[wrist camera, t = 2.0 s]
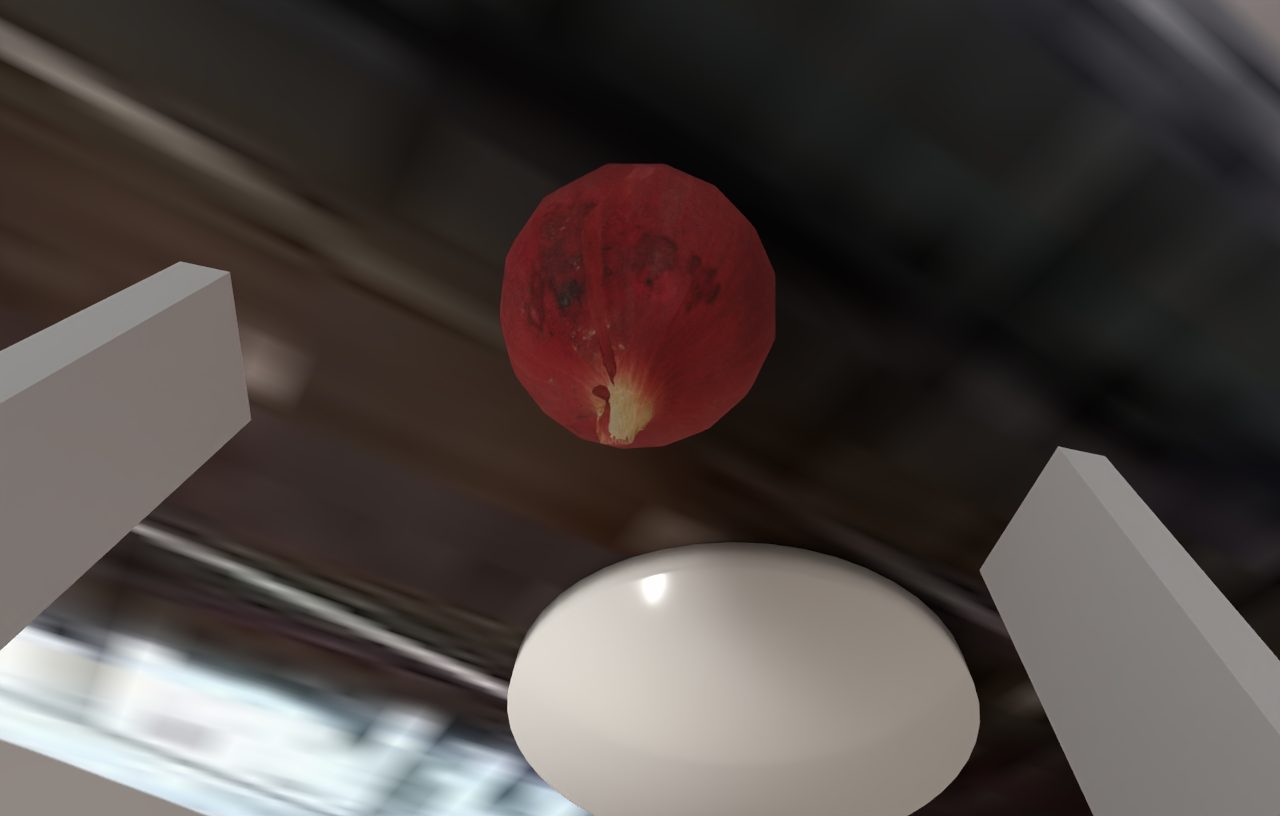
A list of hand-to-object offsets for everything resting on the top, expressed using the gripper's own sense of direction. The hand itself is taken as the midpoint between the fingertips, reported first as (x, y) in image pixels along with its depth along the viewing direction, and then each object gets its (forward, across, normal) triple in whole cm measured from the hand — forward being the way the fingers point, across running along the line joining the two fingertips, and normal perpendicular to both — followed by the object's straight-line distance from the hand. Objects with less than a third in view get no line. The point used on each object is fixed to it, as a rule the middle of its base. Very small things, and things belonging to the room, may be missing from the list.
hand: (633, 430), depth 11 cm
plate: (+8, +7, -18) cm, 21 cm away
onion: (+8, 0, 0) cm, 8 cm away
